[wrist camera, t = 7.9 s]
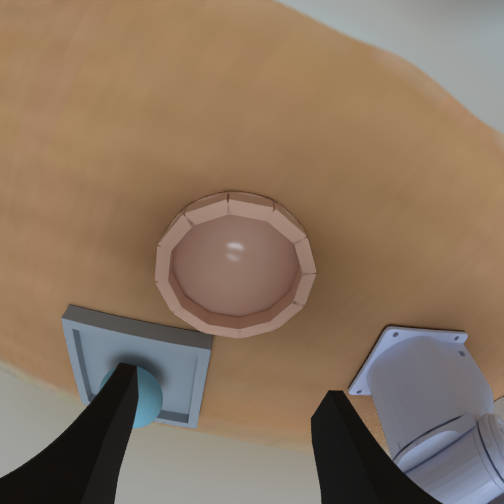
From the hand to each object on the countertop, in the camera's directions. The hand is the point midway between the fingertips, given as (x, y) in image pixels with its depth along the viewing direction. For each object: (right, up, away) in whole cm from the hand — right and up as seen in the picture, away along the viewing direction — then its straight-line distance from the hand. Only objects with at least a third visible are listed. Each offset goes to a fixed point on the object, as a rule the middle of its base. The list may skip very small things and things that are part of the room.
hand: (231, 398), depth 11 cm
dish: (0, +5, +9) cm, 10 cm away
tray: (-9, -4, +13) cm, 16 cm away
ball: (-8, -4, +13) cm, 16 cm away
